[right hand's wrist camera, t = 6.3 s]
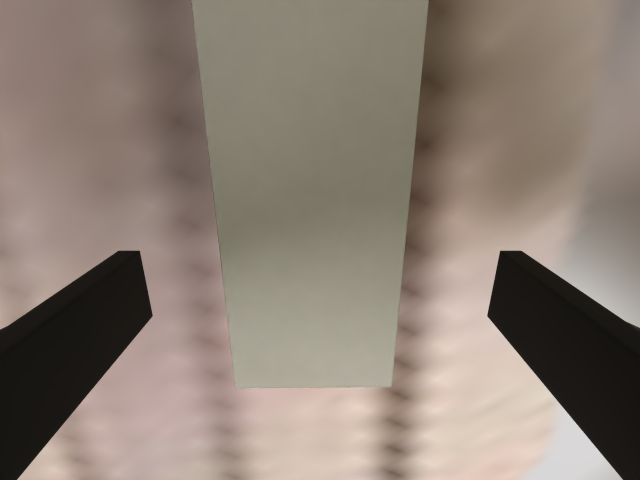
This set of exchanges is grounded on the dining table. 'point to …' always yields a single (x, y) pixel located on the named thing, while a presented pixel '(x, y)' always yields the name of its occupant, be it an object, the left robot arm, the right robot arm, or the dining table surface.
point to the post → (311, 180)
